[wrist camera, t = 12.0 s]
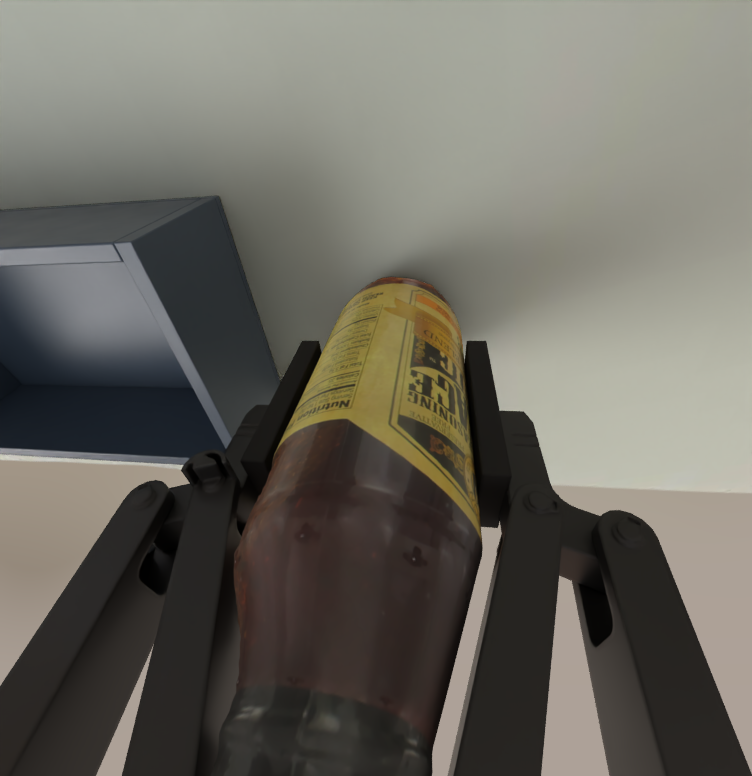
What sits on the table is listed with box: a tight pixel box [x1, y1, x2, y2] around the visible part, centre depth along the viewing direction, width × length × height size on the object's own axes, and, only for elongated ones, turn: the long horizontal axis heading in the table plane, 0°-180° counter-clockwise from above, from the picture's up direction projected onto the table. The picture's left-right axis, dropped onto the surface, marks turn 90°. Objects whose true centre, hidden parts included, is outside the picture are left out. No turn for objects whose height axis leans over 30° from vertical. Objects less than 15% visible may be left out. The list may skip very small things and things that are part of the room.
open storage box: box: [0, 196, 280, 465], centre depth 20 cm, size 21×12×6 cm, turn 94°
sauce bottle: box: [210, 277, 482, 776], centre depth 11 cm, size 6×6×20 cm
